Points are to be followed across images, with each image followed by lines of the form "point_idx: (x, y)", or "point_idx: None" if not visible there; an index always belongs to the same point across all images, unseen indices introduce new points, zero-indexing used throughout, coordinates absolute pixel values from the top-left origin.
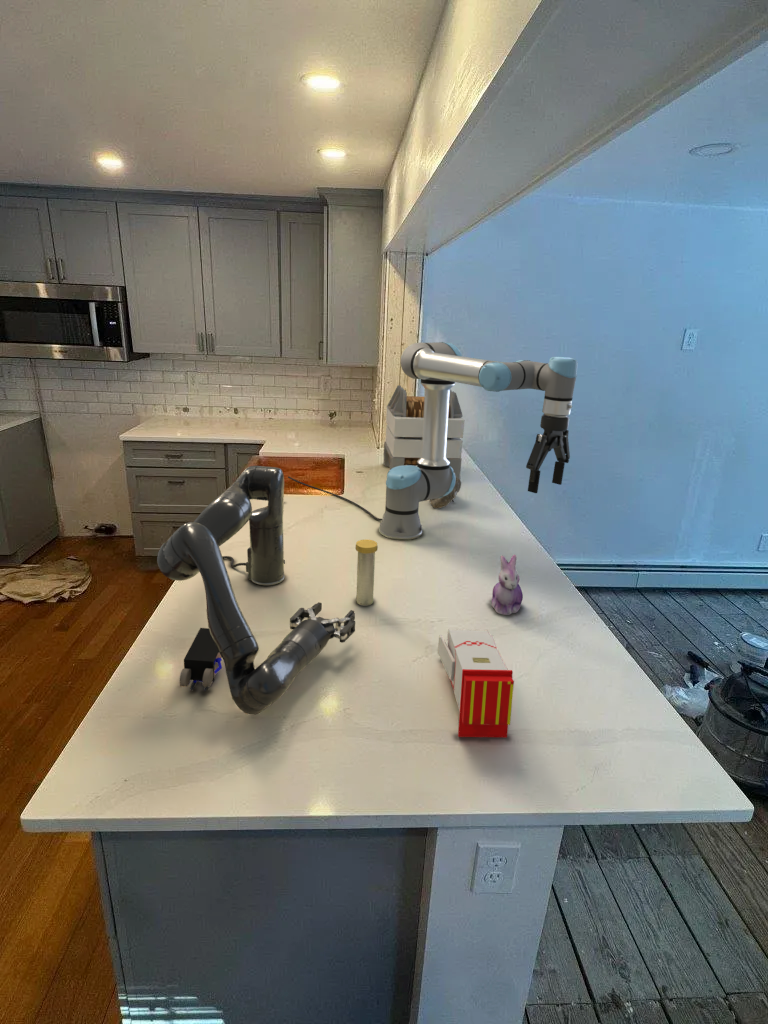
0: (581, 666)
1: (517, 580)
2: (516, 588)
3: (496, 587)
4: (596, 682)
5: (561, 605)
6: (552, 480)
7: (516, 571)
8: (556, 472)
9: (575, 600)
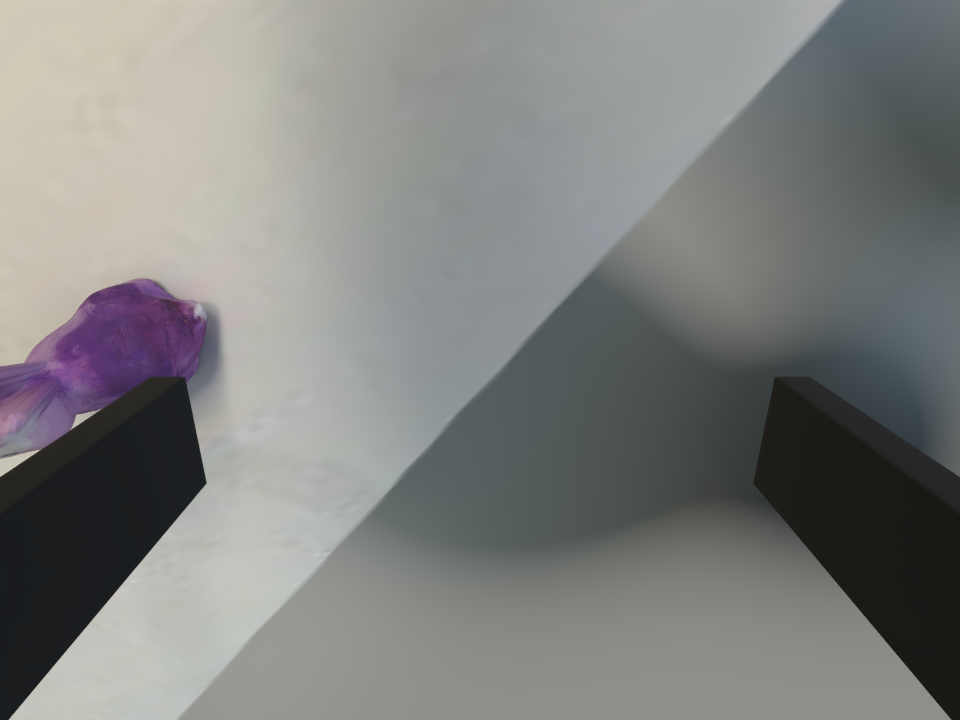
0: (103, 619)
1: (23, 452)
2: (93, 409)
3: (63, 327)
4: (83, 661)
5: (335, 451)
6: (791, 391)
7: (11, 449)
8: (868, 505)
9: (407, 463)
